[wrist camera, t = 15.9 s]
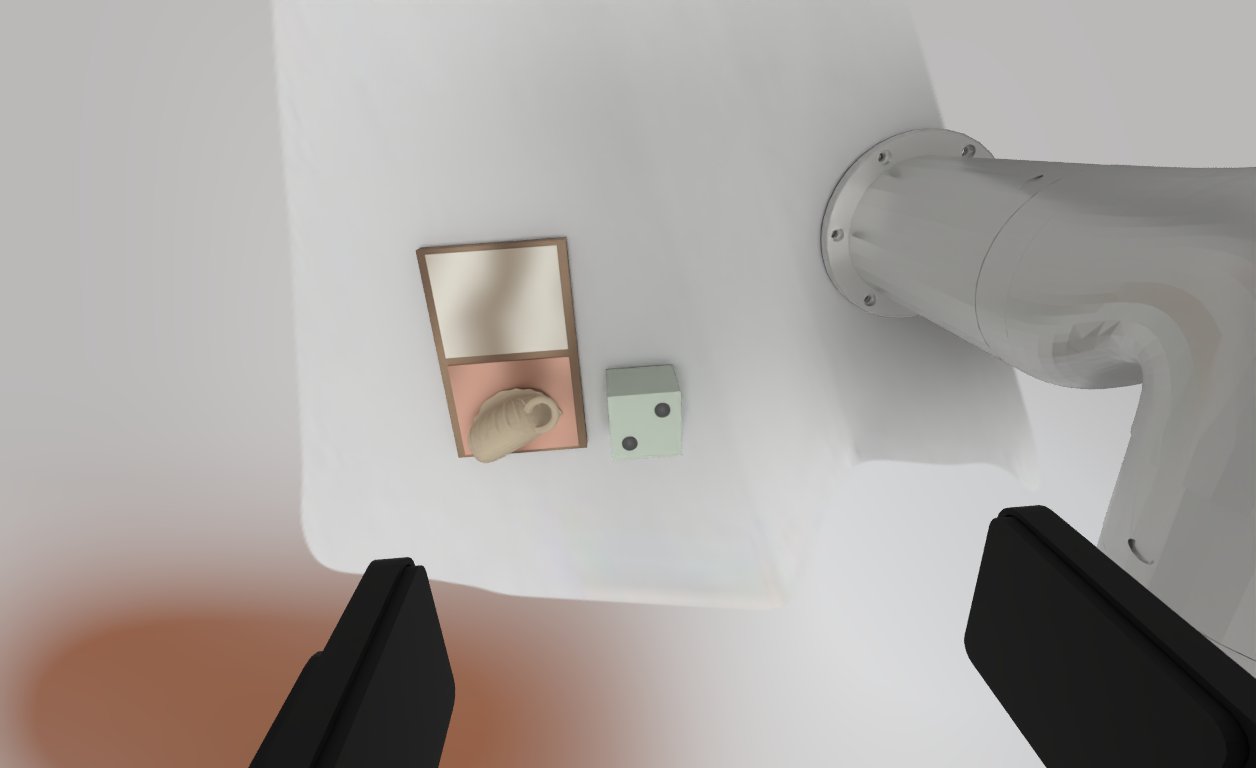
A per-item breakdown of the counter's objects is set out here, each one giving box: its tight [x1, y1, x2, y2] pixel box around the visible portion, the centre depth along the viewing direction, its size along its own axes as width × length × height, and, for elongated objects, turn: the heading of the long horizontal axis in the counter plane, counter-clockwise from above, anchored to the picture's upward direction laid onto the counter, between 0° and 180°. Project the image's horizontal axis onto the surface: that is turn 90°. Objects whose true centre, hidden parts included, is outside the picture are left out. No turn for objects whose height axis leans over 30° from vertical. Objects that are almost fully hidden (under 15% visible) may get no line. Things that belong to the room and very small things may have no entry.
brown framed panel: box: [416, 237, 587, 458], centre depth 42 cm, size 10×16×1 cm, turn 4°
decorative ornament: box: [467, 388, 563, 463], centre depth 41 cm, size 4×8×5 cm, turn 118°
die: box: [606, 365, 683, 461], centre depth 42 cm, size 5×5×5 cm
